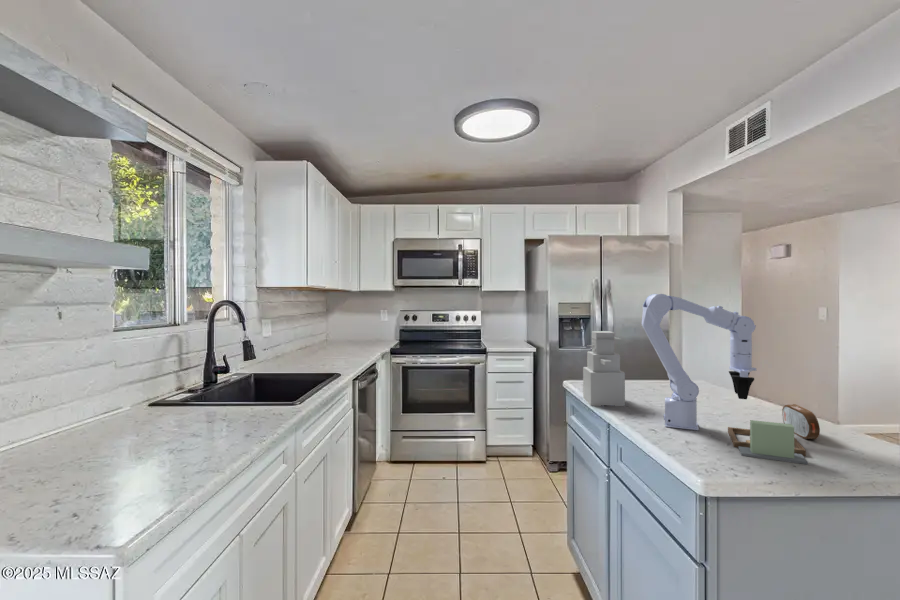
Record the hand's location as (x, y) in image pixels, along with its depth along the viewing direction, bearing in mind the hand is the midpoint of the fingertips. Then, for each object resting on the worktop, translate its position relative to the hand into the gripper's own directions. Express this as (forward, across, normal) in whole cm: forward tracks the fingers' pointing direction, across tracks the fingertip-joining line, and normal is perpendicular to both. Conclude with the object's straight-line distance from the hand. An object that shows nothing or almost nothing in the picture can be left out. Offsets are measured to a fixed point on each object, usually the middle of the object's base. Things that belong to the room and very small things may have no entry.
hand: (740, 396), depth 138 cm
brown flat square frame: (+10, -12, -4) cm, 17 cm away
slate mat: (+10, -24, -4) cm, 26 cm away
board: (+10, -24, -4) cm, 26 cm away
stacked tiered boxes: (+11, +19, +44) cm, 49 cm away
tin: (+11, +1, -15) cm, 18 cm away
